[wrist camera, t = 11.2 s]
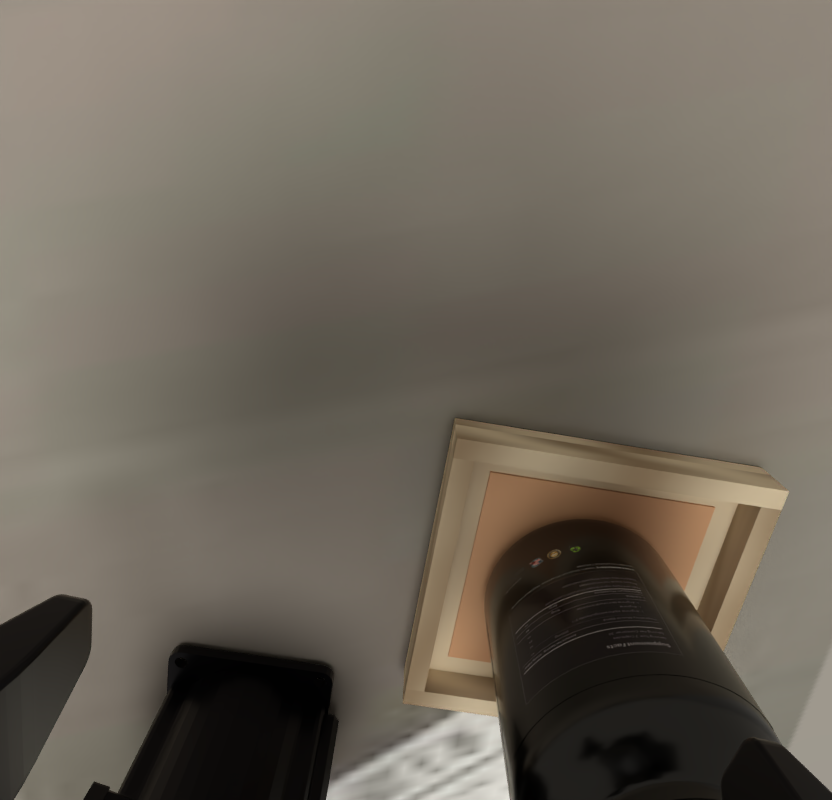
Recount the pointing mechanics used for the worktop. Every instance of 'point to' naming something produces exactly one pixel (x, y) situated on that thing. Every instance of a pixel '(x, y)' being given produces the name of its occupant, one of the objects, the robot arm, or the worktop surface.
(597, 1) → the worktop surface
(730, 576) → the tray
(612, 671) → the supplement bottle
